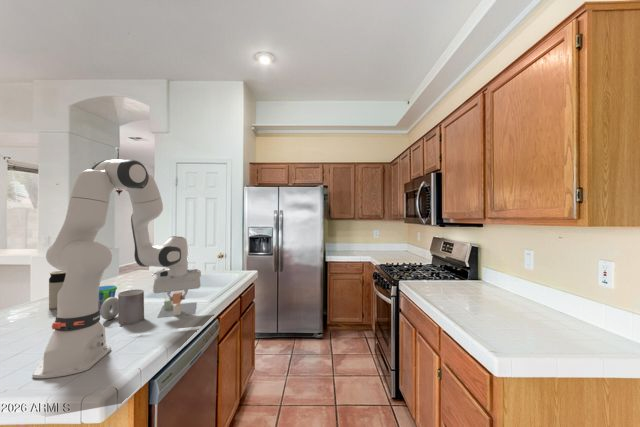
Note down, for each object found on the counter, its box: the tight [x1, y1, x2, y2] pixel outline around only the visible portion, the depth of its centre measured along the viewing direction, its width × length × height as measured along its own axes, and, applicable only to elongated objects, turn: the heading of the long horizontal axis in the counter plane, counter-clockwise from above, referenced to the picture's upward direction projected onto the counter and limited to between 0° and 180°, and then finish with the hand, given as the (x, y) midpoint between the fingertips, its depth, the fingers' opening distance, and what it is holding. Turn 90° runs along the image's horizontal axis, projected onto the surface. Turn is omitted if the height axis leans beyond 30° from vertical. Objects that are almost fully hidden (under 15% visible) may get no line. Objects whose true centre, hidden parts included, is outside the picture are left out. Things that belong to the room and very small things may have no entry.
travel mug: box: [48, 270, 66, 310], centre depth 157 cm, size 8×8×18 cm
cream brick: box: [173, 302, 182, 317], centre depth 145 cm, size 6×3×4 cm, turn 20°
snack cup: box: [98, 285, 118, 310], centre depth 157 cm, size 16×10×10 cm
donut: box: [99, 296, 118, 321], centre depth 140 cm, size 10×4×10 cm, turn 175°
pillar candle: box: [117, 288, 145, 328], centre depth 135 cm, size 10×10×15 cm
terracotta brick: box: [172, 291, 183, 304], centre depth 145 cm, size 6×3×4 cm, turn 13°
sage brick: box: [163, 297, 172, 310], centre depth 153 cm, size 6×3×4 cm, turn 20°
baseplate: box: [156, 301, 197, 319], centre depth 150 cm, size 20×16×1 cm
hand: (177, 300), depth 145 cm, fingers closed on terracotta brick, 4 cm apart
